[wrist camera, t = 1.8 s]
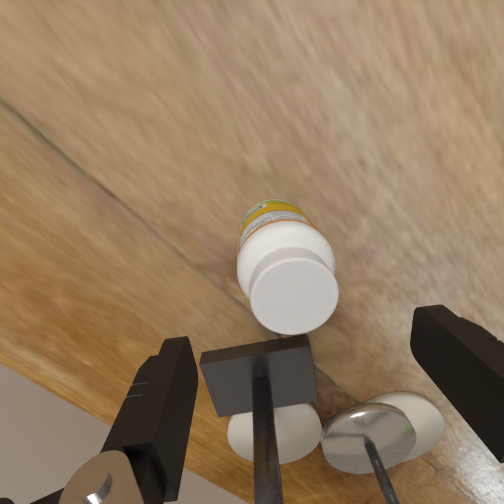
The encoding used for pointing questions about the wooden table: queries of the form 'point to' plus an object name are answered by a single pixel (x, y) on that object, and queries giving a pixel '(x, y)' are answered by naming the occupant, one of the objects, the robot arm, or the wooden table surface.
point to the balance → (299, 392)
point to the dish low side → (417, 419)
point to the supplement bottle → (286, 268)
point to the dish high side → (279, 432)
